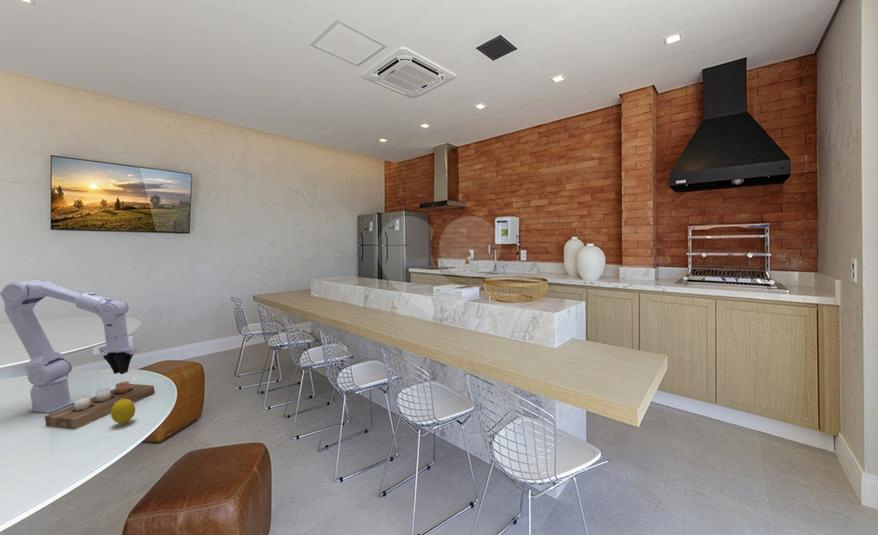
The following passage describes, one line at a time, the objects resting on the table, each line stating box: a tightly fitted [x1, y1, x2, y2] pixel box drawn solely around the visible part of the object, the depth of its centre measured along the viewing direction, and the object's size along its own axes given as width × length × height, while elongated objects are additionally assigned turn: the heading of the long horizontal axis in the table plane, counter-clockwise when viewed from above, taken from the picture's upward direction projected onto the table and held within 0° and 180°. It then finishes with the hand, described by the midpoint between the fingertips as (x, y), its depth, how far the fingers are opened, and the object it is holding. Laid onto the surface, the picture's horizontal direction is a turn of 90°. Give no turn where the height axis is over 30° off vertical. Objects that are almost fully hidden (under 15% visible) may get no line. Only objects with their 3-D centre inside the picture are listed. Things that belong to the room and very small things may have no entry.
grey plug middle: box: [95, 388, 111, 402], centre depth 119 cm, size 4×4×3 cm
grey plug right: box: [73, 396, 91, 411], centre depth 113 cm, size 4×4×3 cm
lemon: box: [110, 398, 136, 425], centre depth 108 cm, size 6×6×8 cm
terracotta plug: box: [115, 381, 130, 394], centre depth 125 cm, size 4×4×3 cm
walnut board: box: [44, 383, 156, 430], centre depth 119 cm, size 12×24×3 cm, turn 168°
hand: (121, 372), depth 124 cm, fingers open, 2 cm apart
